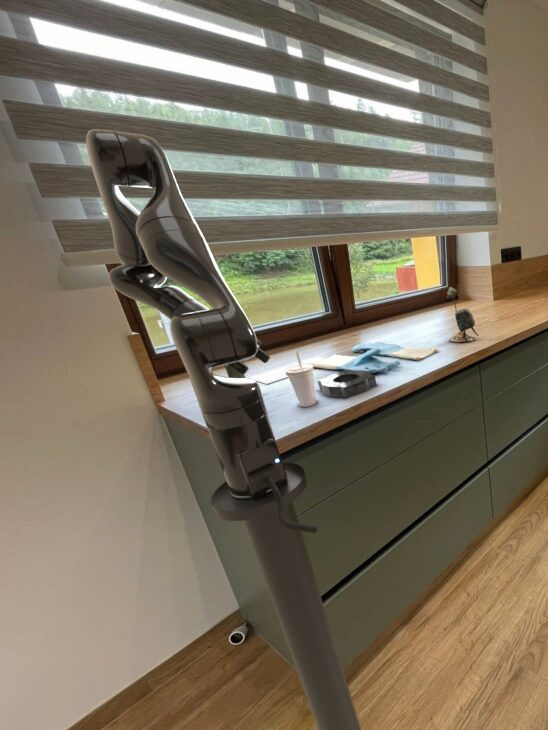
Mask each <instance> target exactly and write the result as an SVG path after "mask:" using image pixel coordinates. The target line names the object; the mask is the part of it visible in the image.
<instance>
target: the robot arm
mask: <svg viewBox="0 0 548 730" xmlns="http://www.w3.org/2000/svg"><path fill="white" fill-rule="evenodd" d="M85 141H86V142H85V143H86V150H87V155H88V159H89V163H90V167H91V170H92V173H93V176H94V180H95V182H96V186H97V189H98V192H99V195H100V198H101V202H102V205H103V207H104V209H105V212H106V214H107V217H108V219H109V220H108V221H109V224H110V227H111V233H112V239H113V245H114V251H115V254H116V256H117V258H118V259H119V260H120V261H121V262H122V263H123V264H121V265H118V266H116V267H114V268H112V269H111V270H110V271H109V273H108V279H109V282H110V284H111V285H112V287H113V288H114V289H115V290H117V291H118V292H119V293H121V294H122V295H124V296H126V297H128V298H130V299H132V300H134V301H136V302H139V303H141V304H143V305H146V306H148V307H150V308H153V309H155V310H156V311H158V312H159V313H161V314H162V315H164V316H165V317H166V318H168V319H169V320H170V321H169V331H170V334H171V337H172V341H173V343H174V346H175V348H176V350H177V353H178V355H179V357H180V359H181V362H182V364H183V366H184V368H185V371H186V373H187V376H188V378H189V381H190V383H191V386H192V388H193V392H194V394H195V397H196V400H197V404H198V406H199V409H200V412H201V414H202V417H203V420H204V423H205V425H206V428H207V431H208V434H209V436H210V440H211V443H212V445H213V448H214V450H215V451H214V452H215V454H216V456H217V458H218V461H219V465H220V467H221V469H222V473H223V475H224V478H225V480H226V481H227V484H228V486H229V489H230V494H231V496H232V497H233V498H235V499H238V500H249V499H252V500H254V501H256V500H258V499H260V498H262V497H264V496H265V495H267V494H269V493H271V492H273V494H274V496H275V499H276V502H277V506H278V520H279V521H280V523H281V524H282V525H284V526H285V527H287V528H290V529H294V530H299V531H301V532H305V533H312V534H315V533H317V531H318V528H317V526H313V525H307V524H300V523H299V524H296V523H292V522H290V521H288V520H287V519H285V517H284V504H283V500H282V497H281V494H280V492H279V490H278V489H279V488H281V487H282V486H284V485H286V484H288V482H287V475H286V472H285V470H284V467H283V463H284V462H283V460H282V457H281V454H280V451H279V448H278V445H277V441H276V437H275V434H274V430H273V427H272V425H271V421H270V417H269V414H268V411H267V407H266V404H265V400H264V397H263V393H262V391H261V386H260V385H259V383H258V381H256V380H254V379H253V378H252V379H251V378H247V377H246V378H230V377H228V376H222V375H219V374H216V373H213V372H212V369H213V368H217V367H218V368H219V367H223V366H224V365H227V366H231V367H232V368H233V369H235V370H236V371H237V372H239V373H241V374H245V375H246V374H247V373H248V371H249V370H250V368H249V367H248V365H246V364H245V363H244V361H247V360H249V359H252V358H254V357H256V358H257V359H258V360H260V361H261V362H262V363H264V364H267V363H268V362H269V361H270V359H271V356H270V355H269V354H268V352H267V353H266V352H265V351H264V350H263V349H262V348H261V347H260V346H261V344H262V341H261V340H259V338H257V336H256V333H255V331H254V328H253V326H252V324H251V322H250V320H249V318H248V317H247V315H246V313H245V312H244V310H243V308H242V307H241V305H240V303H239V302H238V300H237V298H236V296H235V295H234V294H233V292H232V290H231V289H230V287H229V285H228V284H227V282H226V280H225V278H224V277H223V275H222V273H221V271H220V269H219V267H218V264H217V263H216V260H215V258H214V256H213V253H212V252H211V251H212V250H211V249H210V247H209V244H208V242H207V241H206V239H205V237H204V235H203V233H202V231H201V229H200V226H199V225H198V223H197V222H196V220H195V218H194V216H193V215H192V212H191V210H190V209H189V207H188V205H187V203H186V201H185V199H184V197H183V195H182V193H181V189H180V188H179V185H178V182H177V180H176V177H175V174H174V171H173V170H172V167H171V164H170V162H169V159H168V157H167V155H166V152H165V151H164V149H163V147H162V146H161V144H160V143H159V142H158V141H157V140H156V139H155V138H153V137H151V136H148V135H146V134H140V133H135V132H134V133H133V132H126V131H118V130H111V129H102V128H92V129H90V130H88V131H87V134H86V138H85ZM120 187H126V188H127V187H128V188H146V189H153V190H154V191H153V194H152V196H151V197H150V199H149V200H148V201H147V203H146V204H145V205H144V207H143V208H142V210H141V211H139V210H138V209H137V208H136V207H135V206H134V205H132V203H130V202H129V201H128V199H127V198H126V197H125V196H124V194H123V193H122V192H121V189H120ZM167 279H168V280H170V281H172V282H173V283H176V284H177V285H178V286H176V285H167V286H163V284H164V283H165V282H166V281H167ZM160 286H161V287H160ZM179 286H181V287H183V288H184V289H186V290H188V291H190V292H192V293H193V294H195V295H197V296H198V297H199V298H201V299H202V300H203V301H204V302H205V303H207V304H208V305H209V306H210V307H211V309H210V308H209V307H207V306H205V305H204V304H202V303H201V302H199V301H197V300H196V299H195V298H193V296H191V295H190V294H188V293H187V292H185V290H183V289H181V288H180V287H179ZM241 361H243V363H242V362H241ZM226 481H225V482H226Z"/></svg>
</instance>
